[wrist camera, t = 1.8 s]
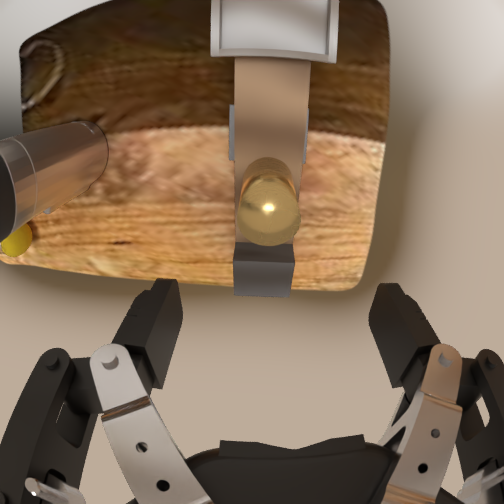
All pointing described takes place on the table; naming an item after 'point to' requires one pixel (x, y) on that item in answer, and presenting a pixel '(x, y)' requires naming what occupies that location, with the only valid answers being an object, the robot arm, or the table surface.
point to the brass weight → (268, 203)
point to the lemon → (17, 241)
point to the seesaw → (270, 107)
